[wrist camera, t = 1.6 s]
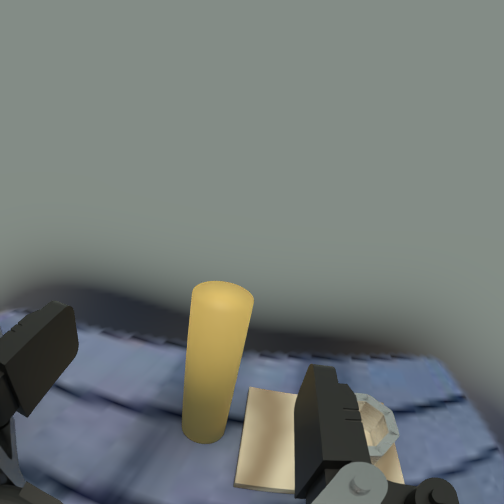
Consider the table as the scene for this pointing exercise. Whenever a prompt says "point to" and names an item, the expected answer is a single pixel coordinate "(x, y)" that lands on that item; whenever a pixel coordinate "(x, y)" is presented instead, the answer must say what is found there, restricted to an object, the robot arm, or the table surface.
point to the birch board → (281, 445)
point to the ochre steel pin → (213, 357)
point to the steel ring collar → (377, 425)
